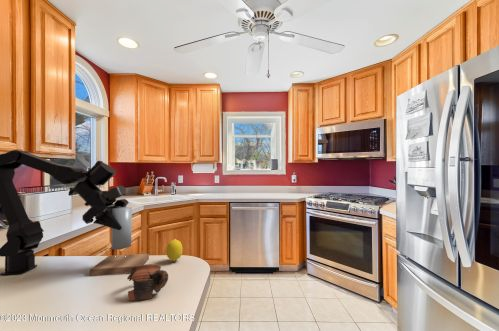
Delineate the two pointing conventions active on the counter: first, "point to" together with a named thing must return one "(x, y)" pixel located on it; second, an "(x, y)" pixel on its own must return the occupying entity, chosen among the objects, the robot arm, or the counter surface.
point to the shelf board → (119, 264)
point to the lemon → (174, 250)
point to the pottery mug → (146, 281)
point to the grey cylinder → (123, 236)
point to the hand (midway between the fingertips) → (125, 226)
